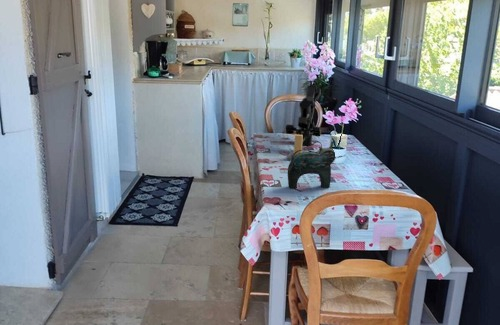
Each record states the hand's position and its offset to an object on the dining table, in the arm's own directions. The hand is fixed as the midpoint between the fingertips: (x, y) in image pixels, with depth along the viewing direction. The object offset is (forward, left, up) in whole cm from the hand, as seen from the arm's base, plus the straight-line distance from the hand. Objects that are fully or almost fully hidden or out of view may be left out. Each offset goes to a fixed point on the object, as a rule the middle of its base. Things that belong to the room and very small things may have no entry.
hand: (300, 143), depth 239 cm
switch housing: (+4, +2, -6) cm, 8 cm away
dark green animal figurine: (+41, +32, -7) cm, 53 cm away
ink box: (-13, +15, -7) cm, 21 cm away
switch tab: (+9, +4, -5) cm, 11 cm away
